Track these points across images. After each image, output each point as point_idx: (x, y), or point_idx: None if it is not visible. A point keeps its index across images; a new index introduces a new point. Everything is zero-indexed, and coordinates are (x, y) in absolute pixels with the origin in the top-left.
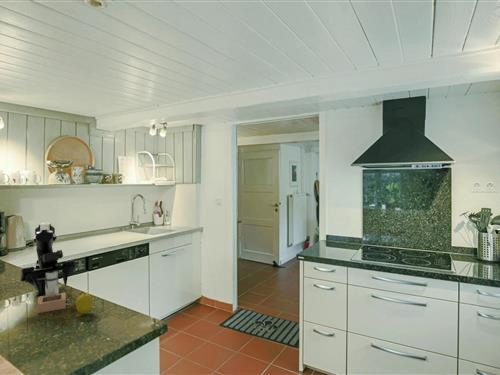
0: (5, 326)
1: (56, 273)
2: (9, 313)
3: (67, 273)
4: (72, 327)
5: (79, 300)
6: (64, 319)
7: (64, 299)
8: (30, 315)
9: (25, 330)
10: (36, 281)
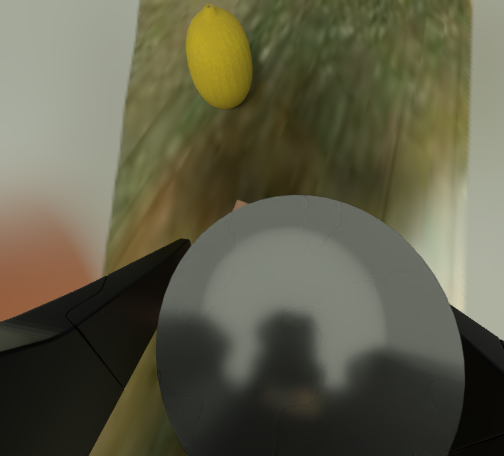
0: (463, 208)
1: (240, 218)
2: None
3: (62, 303)
4: (297, 45)
5: (242, 29)
6: (290, 113)
7: (241, 202)
8: None
9: (408, 119)
10: (488, 343)
